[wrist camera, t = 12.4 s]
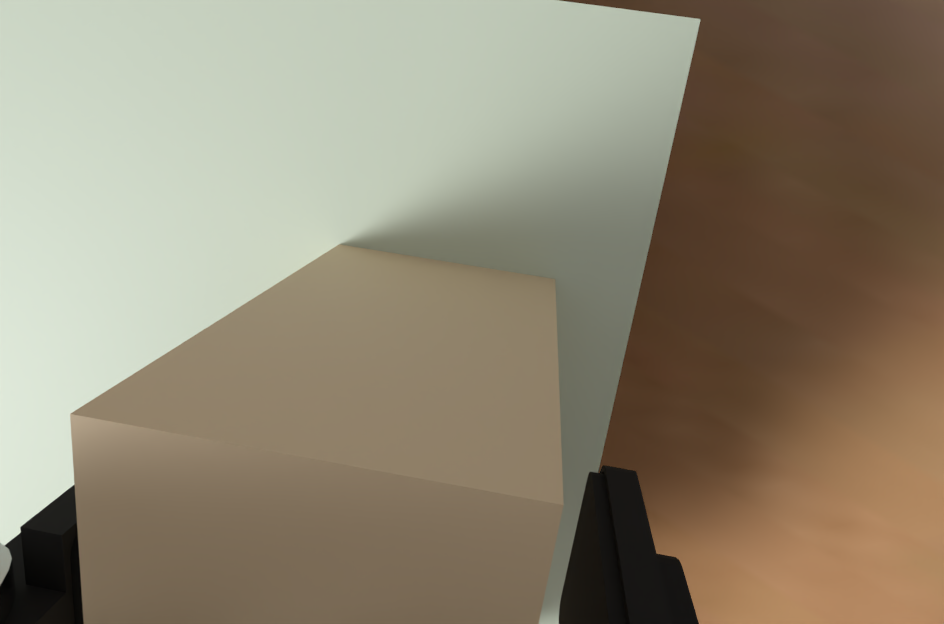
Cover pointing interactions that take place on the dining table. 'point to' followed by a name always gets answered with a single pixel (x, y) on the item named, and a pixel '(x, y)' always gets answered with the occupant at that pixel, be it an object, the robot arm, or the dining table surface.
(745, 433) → the dining table surface
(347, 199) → the lid
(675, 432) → the dining table surface
